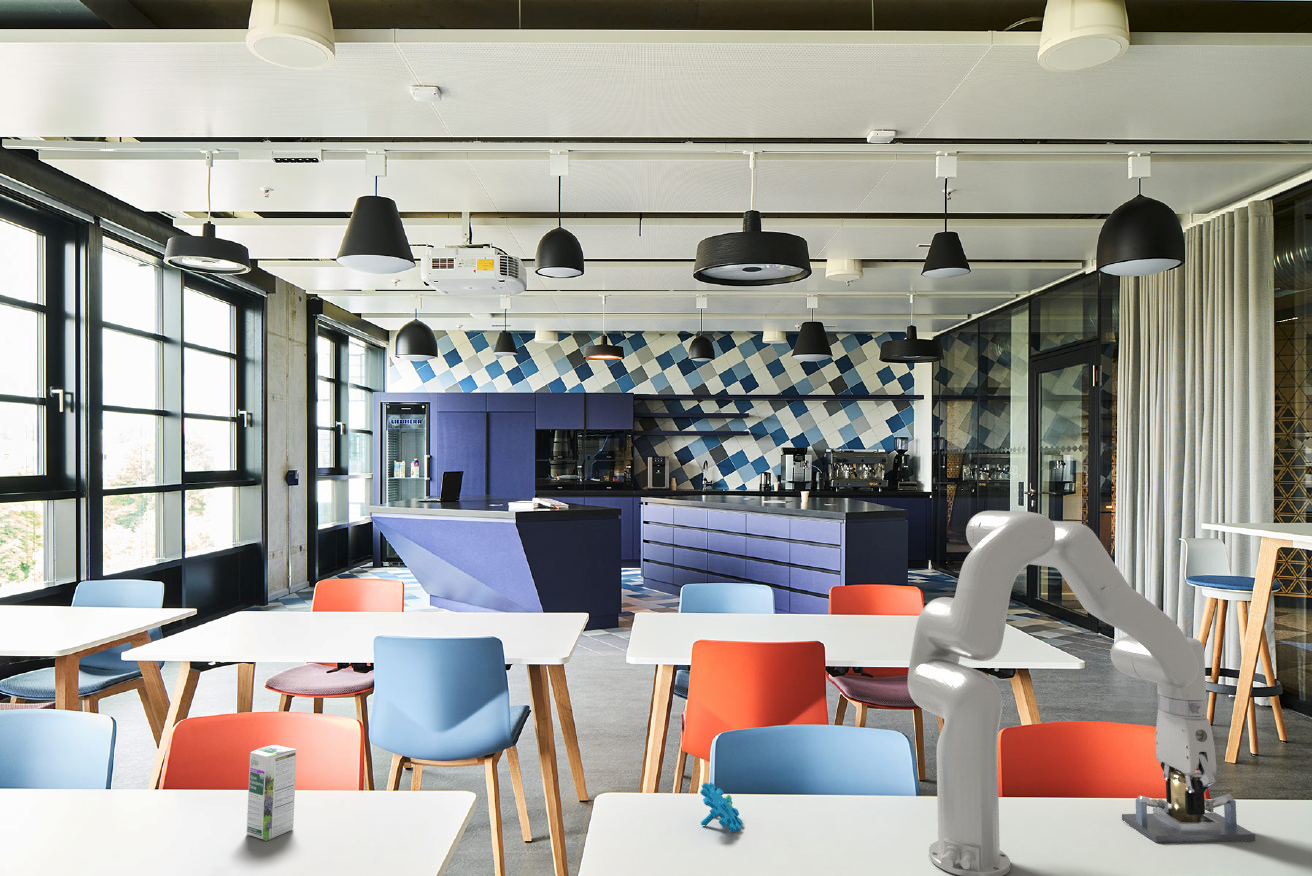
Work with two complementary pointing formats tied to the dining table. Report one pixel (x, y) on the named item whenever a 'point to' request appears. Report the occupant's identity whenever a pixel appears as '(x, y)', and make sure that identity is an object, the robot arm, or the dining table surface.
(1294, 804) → the dining table surface
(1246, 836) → the coupling stand
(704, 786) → the gear
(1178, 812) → the cylinder
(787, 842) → the dining table surface
